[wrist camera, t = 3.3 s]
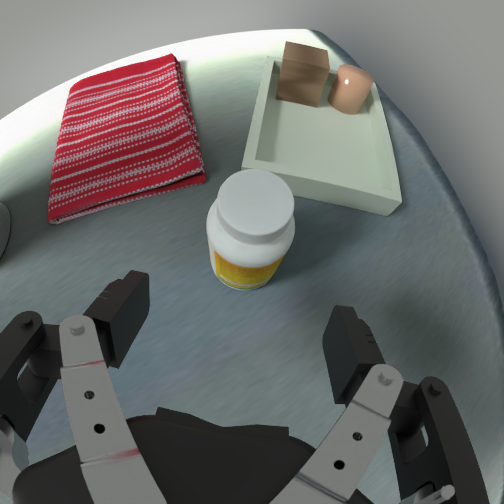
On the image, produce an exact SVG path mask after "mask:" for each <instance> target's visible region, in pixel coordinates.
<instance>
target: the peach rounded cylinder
mask: <svg viewBox="0 0 504 504" xmlns="http://www.w3.org/2000/svg"><path fill="white" fill-rule="evenodd" d="M373 83H374V80H373V78H372V77H371V76H370V75H369V74H368V73H367V72H365V71H364V70H362V69H360V68H358V67H356V66H353V65H347V64H344V65H341V66H339V69H338V71H337V74H336V77H335V80H334V82H333V85H332V88H331V91H330V93H329V96H328V102H329V103H330V105H331V106H332V107H333V108H335V109H336V110H338V111H340V112H342V113H344V114H348V115H355V114H358V113H359V112H360V110H361V108H362V106H363V103H364V101H365V99H366V97H367V95H368V93H369V91H370V89H371V87H372V85H373Z"/></svg>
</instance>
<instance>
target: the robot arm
mask: <svg viewBox="0 0 504 504" xmlns="http://www.w3.org/2000/svg"><path fill="white" fill-rule="evenodd" d="M10 223H11V220H10V213H9V211H8V209H7V207H6V206H5V205H4V204H3V203H2V202H1V201H0V258H1V256H2V254H3V252H4V249H5V247H6V244H7V241H8V237H9V232H10ZM149 307H150V297H149V275H148V273H143V272H138V271H134V270H131V271H130V272H129V273H128V274H127V275H126V276H125V277H124V279H123V280H122V279H117V280H115V281H114V282H112V283H110V284H109V285H108V286H107V287H106V288H105V289H104V290H103V292H102V293H101V294H100V295H99V297H97V298H96V299H95V301H94V302H93V303H92V304H91V305H90V306H89V308H88V309H87V310H86V311H85V312H84V314H83V315H74V316H70V317H68V318H66V319H65V320H63V321H62V323H61V324H60V325H50V324H43V321H42V317H41V316H40V314H38V313H37V312H34V311H26V312H22V313H20V314H18V315H17V316H16V317H15V318H14V319H13V320H12V321H11V322H10V323H9V324H8V325H7V327H6V328H5V329H4V330H3V331H2V332H1V333H0V491H1V492H3V493H4V494H5V495H7V496H8V497H10V498H11V499H13V504H374V503H372V502H371V501H370V500H369V499H368V498H367V497H366V496H365V495H363V494H362V493H361V492H360V491H359V490H358V489H357V486H358V484H359V483H360V481H361V479H362V478H363V476H364V474H365V472H366V471H367V469H368V467H369V465H370V464H371V462H372V460H373V458H374V456H375V454H376V452H377V450H378V449H379V447H380V445H381V443H382V441H383V439H384V436H385V434H386V432H387V431H388V435H389V439H390V444H391V449H392V453H393V458H394V463H395V469H396V474H397V479H398V485H399V491H400V498H401V502H400V503H399V504H490V503H489V499H488V495H487V492H486V488H485V484H484V481H483V478H482V474H481V471H480V468H479V465H478V462H477V459H476V456H475V453H474V450H473V447H472V445H471V442H470V439H469V437H468V434H467V431H466V429H465V426H464V424H463V421H462V419H461V417H460V414H459V412H458V409H457V407H456V405H455V403H454V400H453V398H452V396H451V394H450V392H449V389H448V387H447V386H446V384H445V383H444V382H443V381H441V380H440V379H438V378H436V377H426V378H424V379H423V380H422V381H421V383H420V384H419V385H417V384H413V383H409V382H405V381H403V378H402V376H401V374H400V373H399V372H398V371H397V370H396V369H395V368H393V367H392V366H389V365H386V364H385V362H384V359H383V357H382V355H381V352H380V350H379V348H378V345H377V343H376V341H375V339H374V337H373V334H372V332H371V330H370V328H369V326H368V325H367V324H366V323H365V322H364V321H363V320H362V319H358V317H357V315H356V313H355V310H354V308H353V307H348V306H340V305H336V306H335V307H334V309H333V311H332V314H331V316H330V319H329V322H328V324H327V327H326V329H325V332H324V335H323V350H324V354H325V359H326V363H327V368H328V373H329V377H330V382H331V387H332V392H333V397H334V402H335V404H345V406H346V409H345V410H344V412H343V413H342V415H341V416H340V417H339V419H338V420H337V422H336V423H335V425H334V426H333V427H332V429H331V430H330V431H329V433H328V434H327V435H326V437H325V438H324V439H323V441H322V442H321V443H320V445H319V446H318V447H317V448H316V449H315V448H314V447H312V446H311V445H309V444H308V443H306V442H304V441H302V440H300V439H297V438H295V437H292V436H289V428H288V427H281V426H268V425H258V424H256V425H246V426H233V427H221V426H218V425H215V424H212V423H210V422H207V421H205V420H202V419H200V418H198V417H195V416H193V415H191V414H187V413H182V412H178V411H174V410H169V409H165V408H161V407H158V408H157V411H156V414H155V415H142V416H136V417H132V418H129V419H126V420H125V418H124V415H123V413H122V410H121V408H120V405H119V402H118V399H117V397H116V394H115V391H114V388H113V385H112V382H111V379H110V376H109V373H108V370H107V369H108V367H109V366H111V367H115V368H118V369H119V367H120V365H121V363H122V361H123V359H124V358H125V356H126V354H127V352H128V350H129V348H130V347H131V345H132V343H133V341H134V339H135V337H136V336H137V334H138V332H139V330H140V328H141V327H142V325H143V323H144V321H145V320H146V318H147V316H148V312H149ZM25 362H27V364H28V365H27V366H26V368H25V369H24V371H23V372H22V374H21V375H20V377H19V378H18V380H17V376H18V373H19V371H20V370H21V368H22V367H23V365H24V364H25ZM58 379H62V385H63V390H64V396H65V401H66V406H67V411H68V415H69V420H70V424H71V428H72V432H73V435H74V439H75V443H76V445H75V446H72V447H70V448H68V449H66V450H64V451H62V452H60V453H57V454H55V455H53V456H51V457H49V458H46V459H44V460H42V461H39V462H37V463H35V464H32V465H30V466H28V465H29V460H28V454H29V453H28V448H27V445H26V440H27V438H28V436H29V434H30V432H31V430H32V428H33V426H34V424H35V422H36V420H37V417H38V416H39V414H40V412H41V410H42V408H43V406H44V404H45V402H46V400H47V398H48V396H49V394H50V393H51V391H52V389H53V387H54V385H55V384H56V382H57V380H58ZM423 426H425V429H426V432H427V435H428V445H427V447H426V443H425V440H424V437H423V433H422V430H421V428H422V427H423Z"/></svg>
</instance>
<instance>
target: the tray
mask: <svg viewBox="0 0 504 504" xmlns="http://www.w3.org/2000/svg"><path fill="white" fill-rule="evenodd" d="M281 64H282V58H276V57H270V56H267V58H266V62H265V67H264V71H263V75H262V79H261V83H260V87H259V91H258V96H257V100H256V104H255V108H254V113H253V117H252V121H251V126H250V130H249V135H248V139H247V144H246V148H245V153H244V157H243V162H242V167H241V171H243V170H247V169H261V170H266V171H269V172H271V173H273V174H275V175H277V176H279V177H280V178H282V179H283V180H284V181H285V182H286V184H287V185H288V186H289V187H290V189H291V191H292V193H293V196H297V197H302V198H307V199H312V200H317V201H322V202H326V203H331V204H336V205H340V206H345V207H349V208H354V209H358V210H362V211H367V212H371V213H375V214H379V215H383V216H387V217H388V216H389V215H390V214H391V213H392V212H393V211H394V210H395V209H396V208H397V207H398V206H399V205H400V204H401V203H402V198H401V191H400V185H399V179H398V173H397V168H396V163H395V158H394V153H393V148H392V144H391V139H390V135H389V131H388V127H387V123H386V119H385V115H384V112H383V108H382V105H381V101H380V98H379V95H378V91H377V88H376V85H375V83H373V85H372V87H371V89H370V91H369V93H368V95H367V97H366V99H365V101H364V103H363V106H362V108H361V110H360V112H359V113H358V114H355V115H348V114H344V113H342V112H340V111H338V110H336V109H335V108H333V107H332V106H331V105H330V103H329V102H328V96H329V93H330V91H331V88H332V85H333V82H334V80H335V77H336V74H337V71H335V70H331V69H330V70H329V73H328V76H327V79H326V82H325V85H324V88H323V91H322V94H321V97H320V100H319V103H318V106H317V108H315V107H311V106H306V105H302V104H297V103H292V102H287V101H282V100H277V99H276V92H277V86H278V79H279V74H280V69H281Z"/></svg>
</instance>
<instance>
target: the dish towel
mask: <svg viewBox="0 0 504 504" xmlns="http://www.w3.org/2000/svg"><path fill="white" fill-rule="evenodd" d="M205 182H206V174H205V170H204V162H203V159H202V156H201V152H200V144H199V142H198V137H197V132H196V126H195V123H194V120H193V114H192V112H191V107H190V103H189V99H188V96H187V92H186V88H185V83H184V78H183V73H182V69H181V67H180V62H178V61H177V59H176V57H175V56H174V55H173V54H169V55H166V56H163V57H160V58H156V59H152V60H148V61H145V62H140V63H135V64H131V65H127V66H123V67H120V68H116V69H114V70H111V71H107V72H103V73H100V74H97V75H93V76H90V77H87V78H85V79H82V80H80V81H78V82H77V83H75V84H74V85H73V86H72V87H71V89H70V91H69V96H68V98H67V103H66V106H65V110H64V115H63V119H62V122H61V128H60V132H59V135H58V142H57V147H56V152H55V158H54V163H53V166H52V178H51V183H50V193H49V200H48V223H49V224H60V223H62V222H65V221H68V220H71V219H75V218H78V217H81V216H84V215H87V214H91V213H94V212H97V211H100V210H104V209H107V208H111V207H114V206H117V205H121V204H125V203H129V202H133V201H136V200H140V199H144V198H147V197H152V196H156V195H160V194H163V193H167V192H171V191H175V190H179V189H182V188H186V187H189V186H193V185H199V184H204V183H205Z"/></svg>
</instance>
